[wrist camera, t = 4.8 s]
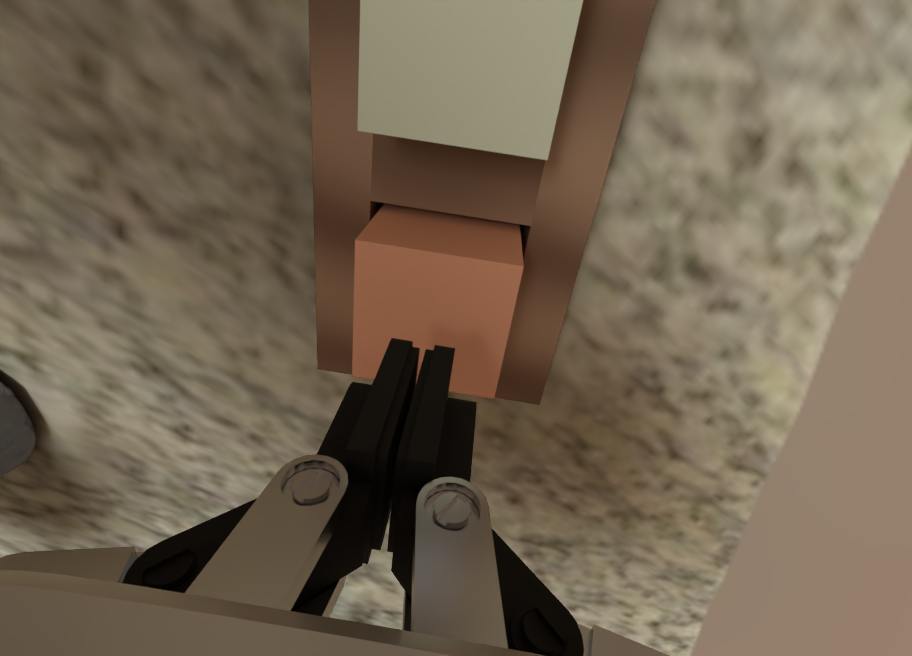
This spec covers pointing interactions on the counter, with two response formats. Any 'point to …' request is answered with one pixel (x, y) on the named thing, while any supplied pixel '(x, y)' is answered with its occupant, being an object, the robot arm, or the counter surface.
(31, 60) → the counter surface
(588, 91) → the walnut panel
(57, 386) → the counter surface
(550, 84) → the sage button
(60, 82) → the counter surface
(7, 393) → the moka pot
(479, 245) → the terracotta button
